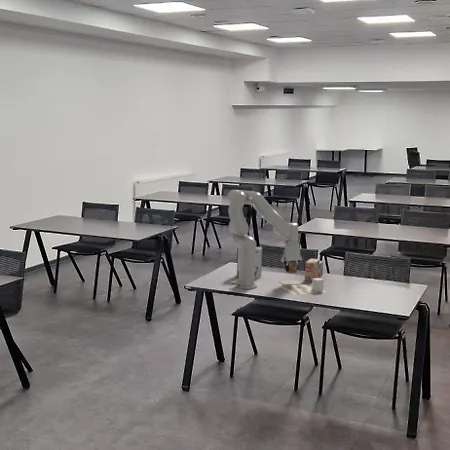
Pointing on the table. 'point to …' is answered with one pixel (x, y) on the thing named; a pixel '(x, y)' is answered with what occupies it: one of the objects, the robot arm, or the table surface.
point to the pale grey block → (317, 284)
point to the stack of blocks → (313, 269)
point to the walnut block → (292, 267)
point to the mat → (290, 282)
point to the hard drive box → (257, 262)
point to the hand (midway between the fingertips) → (291, 270)
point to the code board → (300, 289)
